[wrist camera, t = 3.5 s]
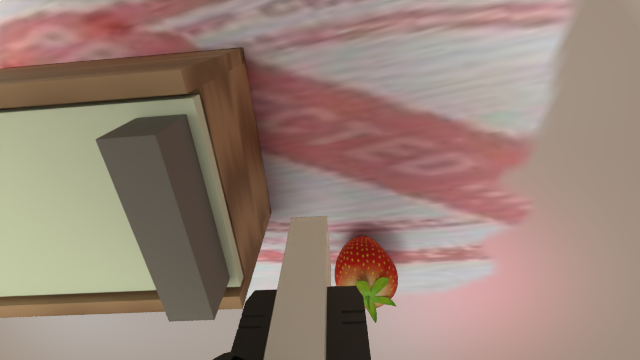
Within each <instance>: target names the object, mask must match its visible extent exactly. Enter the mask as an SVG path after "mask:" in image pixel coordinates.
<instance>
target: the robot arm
mask: <svg viewBox="0 0 640 360" xmlns="http://www.w3.org/2000/svg"><path fill="white" fill-rule="evenodd" d="M213 360H371V356H370V348H369V340H368V332H367V324H366V315H365V306H364V298H363V295H362V294H361V292H360V291H359V289H358V288H357V286H331V262H330V250H329V238H328V226H327V216H317V217H299V218H291V222H290V227H289V232H288V237H287V243H286V248H285V253H284V258H283V263H282V268H281V273H280V278H279V283H278V288H277V290H255V291H254V292H253V294H252V295H251V296H250V297H249V299H248V300H247V301H246V303H245V306H244V309H243V313H242V318H241V319H240V323H239V327H238V330H237V333H236V336H235V340H234V343H233V346H232V350H231V352H228V353H224V354H222V355H220V356H218V357H217V358H215V359H213Z"/></svg>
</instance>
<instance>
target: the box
mask: <svg viewBox="0 0 640 360" xmlns="http://www.w3.org/2000/svg"><path fill="white" fill-rule="evenodd" d="M197 94H199V95H200V99H201V104H202V108H203V112H204V116H205V120H206V124H207V128H208V132H209V137H210V141H211V145H212V149H213V153H214V157H215V161H216V165H217V170H218V174H219V178H220V182H221V186H222V190H223V194H224V199H225V203H226V207H227V211H228V215H229V219H230V223H231V227H232V232H233V236H234V240H235V244H236V248H237V252H238V256H239V260H240V265H241V269H242V273H243V280H242V284H241V287H227V288H226V290H225V293H224V295H223V298H222V301H221V303H220V306H219V309H242V308H243V305H244V302H245V299H246V295H247V292H248V288H249V285H250V282H251V278H252V275H253V272H254V268H255V265H256V262H257V258H258V255H259V252H260V248H261V245H262V242H263V238H264V235H265V232H266V228H267V225H268V221H269V218H270V215H271V208H270V202H269V196H268V191H267V185H266V179H265V173H264V167H263V162H262V156H261V150H260V144H259V139H258V133H257V127H256V121H255V115H254V110H253V104H252V98H251V92H250V87H249V81H248V75H247V69H246V63H245V58H244V52H243V48H231V49H220V50H208V51H196V52H185V53H173V54H162V55H150V56H139V57H127V58H115V59H104V60H92V61H81V62H69V63H57V64H46V65H34V66H23V67H11V68H4V69H0V110H5V109H18V108H30V107H43V106H56V105H69V104H81V103H94V102H107V101H120V100H133V99H145V98H158V97H171V96H184V95H197ZM164 311H165V310H164V307H163V305H162V302H161V300H160V297H159V295H158V293H157V290H147V291H124V292H100V293H76V294H52V295H28V296H4V297H0V318H6V317H32V316H56V315H57V316H58V315H85V314H112V313H138V312H164Z"/></svg>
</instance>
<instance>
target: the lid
mask: <svg viewBox="0 0 640 360" xmlns="http://www.w3.org/2000/svg"><path fill="white" fill-rule="evenodd" d="M242 280H243V273H242V269H241V265H240V260H239V256H238V252H237V248H236V244H235V240H234V236H233V232H232V227H231V223H230V219H229V215H228V211H227V207H226V203H225V199H224V194H223V190H222V186H221V182H220V178H219V174H218V170H217V165H216V161H215V157H214V153H213V149H212V145H211V141H210V137H209V132H208V128H207V124H206V120H205V116H204V112H203V108H202V104H201V99H200V95H199V94H197V95H184V96H171V97H158V98H145V99H133V100H120V101H107V102H94V103H81V104H69V105H56V106H43V107H30V108H18V109H5V110H0V297H4V296H28V295H52V294H76V293H100V292H124V291H147V290H157V293H158V295H159V297H160V300H161V302H162V305H163V307H164V310H165V312H166V315H167V317H168V320H169V321H193V320H214V319H215V316H216V314H217V311H218V309H219V306H220V303H221V301H222V298H223V295H224V293H225V290H226V288H227V287H241V284H242Z"/></svg>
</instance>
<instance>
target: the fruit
mask: <svg viewBox="0 0 640 360" xmlns="http://www.w3.org/2000/svg"><path fill="white" fill-rule="evenodd" d="M335 282H336V285H337V286H357V288H358V289H359V291H360V292H361V294H362V295H363V298H364V306H365V308H367V310H368V311H369V313H370V315H371V317H372V318H373V320H374V322H375V323H376V320H377V317H376V316H377V313H376V308H377V307H380V306H382V305H384V304H387V305H393V306H396V305H395V303H394V302H393V301H392V300H391V298H392V297H393V296H394V294H395V292H396V289H397V285H398V275H397V270H396V267H395V265H394V263H393V261H392V260H391V258H390V257H389V255H388V254H387V253H386V252H385V251H384V249H383V248H382V247H381V246H380V245H379V244H378V243H377V242H376V241H375V240H373V239H372V238H369V237H367V236H359V237H356V238H354V239H352V240H350V241H349V242H348V243H347V244H346V245H345V246H344V247H343V249H342V250H341V252H340V254H339V256H338V258H337V261H336V266H335Z"/></svg>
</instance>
